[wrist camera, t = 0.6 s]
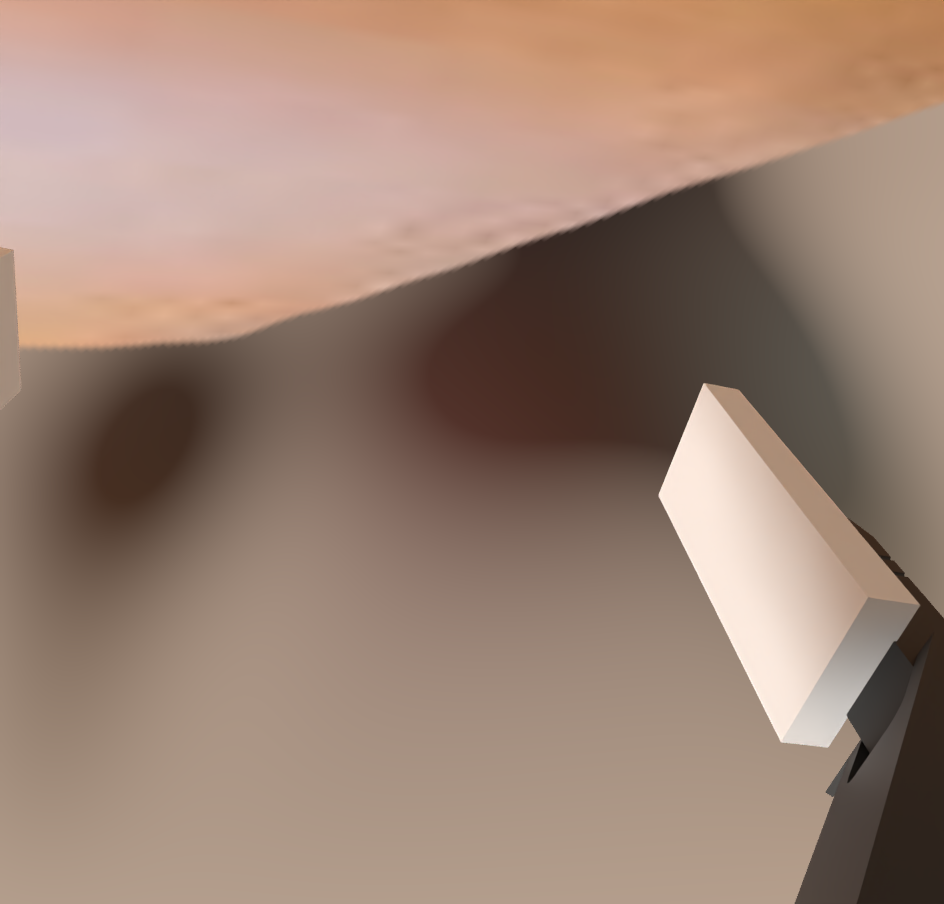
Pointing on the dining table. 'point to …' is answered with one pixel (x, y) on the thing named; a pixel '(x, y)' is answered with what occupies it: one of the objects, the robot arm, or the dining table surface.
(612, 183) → the dining table surface
